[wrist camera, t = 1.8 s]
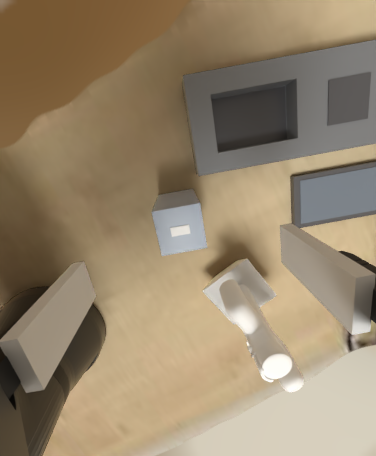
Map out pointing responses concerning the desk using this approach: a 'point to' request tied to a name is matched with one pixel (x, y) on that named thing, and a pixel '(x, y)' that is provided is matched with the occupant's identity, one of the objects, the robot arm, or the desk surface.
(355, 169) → the phone
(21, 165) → the desk surface
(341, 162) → the desk surface
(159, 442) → the desk surface
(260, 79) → the power strip
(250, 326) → the figurine
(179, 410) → the desk surface
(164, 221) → the brick
